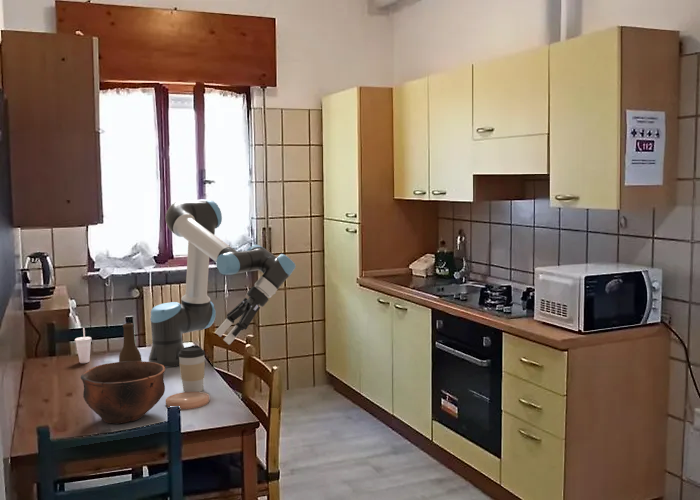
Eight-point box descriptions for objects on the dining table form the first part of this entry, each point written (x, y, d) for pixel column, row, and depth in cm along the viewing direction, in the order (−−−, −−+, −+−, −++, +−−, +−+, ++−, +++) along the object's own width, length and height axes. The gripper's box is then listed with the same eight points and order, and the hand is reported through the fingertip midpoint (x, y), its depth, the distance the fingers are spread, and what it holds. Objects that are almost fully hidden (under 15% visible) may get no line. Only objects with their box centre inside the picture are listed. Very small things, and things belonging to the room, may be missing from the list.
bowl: (160, 429, 216) (157, 379, 214) (73, 434, 214) (70, 383, 212) (173, 403, 240) (171, 358, 239) (96, 407, 239) (93, 361, 237)
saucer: (167, 397, 247) (167, 393, 246) (210, 394, 249) (210, 390, 249) (163, 410, 233) (163, 406, 233) (208, 407, 235) (208, 403, 235)
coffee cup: (200, 394, 249) (198, 351, 248) (175, 393, 251) (173, 350, 250) (210, 386, 258) (208, 344, 257) (186, 385, 260) (184, 344, 258)
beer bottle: (136, 387, 260) (132, 320, 257) (147, 391, 254) (144, 323, 252) (116, 392, 255) (112, 323, 252) (127, 396, 249) (123, 327, 246)
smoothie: (89, 363, 294) (87, 329, 292) (73, 364, 294) (71, 329, 292) (95, 359, 300) (93, 326, 299) (79, 360, 300) (77, 326, 299)
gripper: (279, 304, 251) (238, 352, 247) (259, 293, 274) (221, 338, 270) (263, 290, 248) (222, 338, 244) (245, 281, 271) (206, 325, 267)
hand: (221, 338), depth 257 cm, fingers open, 13 cm apart
